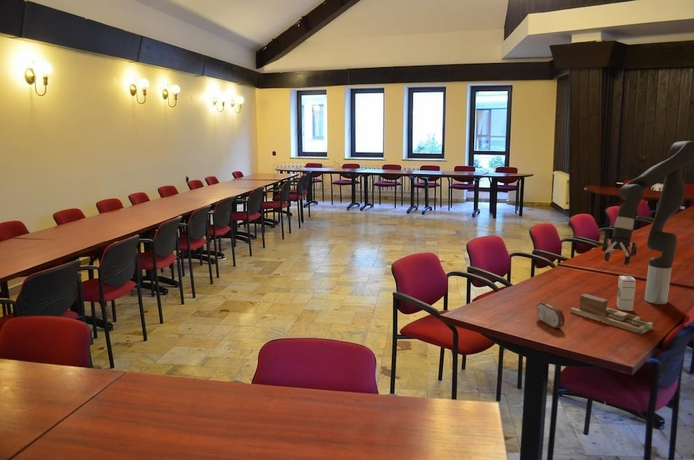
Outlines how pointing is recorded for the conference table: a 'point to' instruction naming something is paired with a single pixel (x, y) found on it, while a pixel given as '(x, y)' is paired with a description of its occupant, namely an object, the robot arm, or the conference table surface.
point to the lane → (619, 316)
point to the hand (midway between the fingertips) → (616, 263)
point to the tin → (550, 315)
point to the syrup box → (625, 293)
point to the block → (593, 305)
